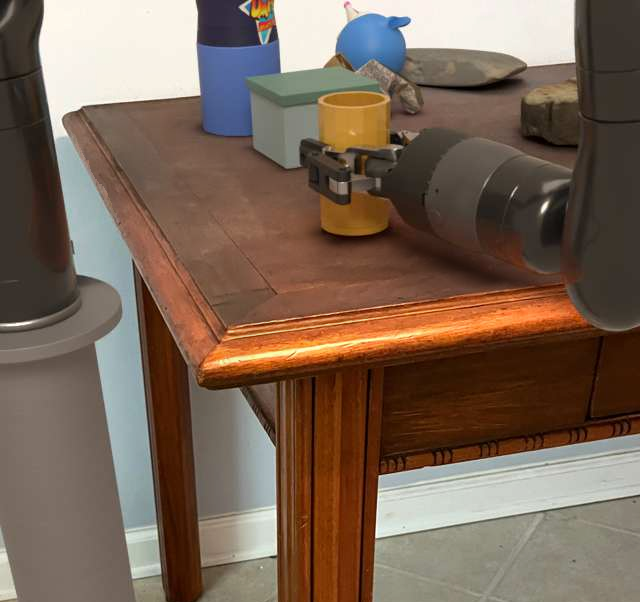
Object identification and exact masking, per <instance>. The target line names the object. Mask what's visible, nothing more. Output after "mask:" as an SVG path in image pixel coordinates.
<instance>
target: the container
mask: <svg viewBox="0 0 640 602" xmlns="http://www.w3.org/2000/svg"><path fill="white" fill-rule="evenodd" d="M246 88H248V89H250V97H251V113H252V130H253V135H252V142H253V143H252V145H253V149H254V150H256V151H257V152H259V153H260V154H262V155H263V156H265V157H267V158H269V160H272V161H273V162H275V163H276V164H277V165H279V166H281V167H283V168H284V169H286V170H289V169H290V170H291V169H296V168H304V167H303V166H301V165H300V158H299V146H300V142H301V140H302V139H307V138H312V139H314V140H317V141H319V131H318V99H319V98H320V97H322V96H324V95H328V94H331V93H338V92H349V91H365V92H375V93H380V83H379V82H377V81H374V80H372V79H369V78H367V77H364V76H362V75H360V74H357V73H355V72H352V71H350V70H348V69H345V68H343V67H340V66H335V67H327V68H323V67H319V68H311V69H302V70H294V71H287V72H281V73H278V74H270V75H262V76H254V77H246Z"/></svg>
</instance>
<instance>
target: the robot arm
mask: <svg viewBox="0 0 640 602" xmlns="http://www.w3.org/2000/svg"><path fill="white" fill-rule="evenodd" d="M44 17H45V0H0V333H14V332H24V331H30V330H35V329H40V328H43V327H47V326H51V325H53V324H56V323H59V322H61V321H63V320H65V319H67V318H69V317H71V316H72V315H73V314H75V313H76V312H77V311H78V310H79V309H80V307H81V305H82V299H81V293H80V290H79V288H78V279H77V275H78V274H77V271H76V265H75V259H74V256H75V255H76V254H75V247H74V241H73V240H72V239H71V234H70V228H69V227H70V226H69V223H68V222H69V221H68V217H67V216H68V215H67V210H66V204H65V198H64V191H63V185H62V180H61V172H60V166H59V161H58V155H57V149H56V142H55V136H54V130H53V124H52V118H51V112H50V105H49V100H48V94H47V88H46V87H47V86H46V81H45V75H44V69H43V62H42V57H41V48H40V47H41V46H40V38H41V33H42V28H43V24H44ZM573 42H574V43H573V44H574V61H575V77H576V80H577V96H578V109H579V122H580V140H579V145H577V151H576V155H575V159H574V163H573V168H570V167H567V166H564V165H562V164H561V165H560V164H557V163H554V162H551V161H548V160H544V159H542V158H541V159H540V158H538V157H535V156H531V155H529V154H527V153H525V152H524V151H521V150H519V148H516V147H514V146H511V145H508V144H506V143H502V142H499V141H496V140H493V139H489V138H485V137H483V136H479V135H476V134H472V133H468V132H466V131H462V130H458V129H455V128H452V127H448V126H433V127H430V128H429V127H425V128H424V129H420V130H419V132H412V131H409V130H407V129H404V130H403V129H402V130H401V131H394V130H391V129H390V144H388V145H386V146H384V147H383V146H375V145H368V144H360V143H357V144H354V145H352V146H350V147H348V148H339V147H333V146H331V145H328V144H326V143H323V142H320V141H317V140H314V139H312V138H307V139H302V140H301V142H300V146H299V158H300V165H301V166H303V167H302V168H305V169H307V170H308V171H307V173H308V175H307V176H308V179H307V187H308V188H309V189H311V190H312V191H314V192H316V193H318V194H319V195H320V194H321V195H323V196H324V197H326V198H328V199H329V200H331V201H333V202H334V203H336V204H339V205H347V204H350V203H351V193H360V194H367V195H372V196H375V197H378V198H379V199H381V200H385V201H389V202H390V203H391V204H392V206H393V207H394V209H395V211H396V212H397V214H398V216H399V217H400V218H401V220H402V221H403V222H404V223H405V224H406V225H408V226H409V227H411V228H413V229H415V230H417V231H418V232H419V231H420V232H422V233H424V234H426V235H428V236H429V235H430V236H432V237H434V238H436V239H439V240H442V241H444V242H446V243H449V244H451V245H453V246H456V247H458V248H461V249H463V250H466V251H468V252H471V253H474V254H479V255H483V256H489V257H492V258H495V259H496V260H500V261H502V262H504V263H506V264H509V265H512V266H514V267H517V268H519V269H522V270H524V271H527V272H530V273H532V274H537V275H541V276H558V275H561V276H562V277H561V278H562V282H563V285H564V288H565V290H566V291H565V292H566V294H567V296H568V298H569V300H570V303H571V304H572V305H573V307H574V308H575V310H576V312H577V313H578V314H579V315H580V316H581V317H582V318H583V319H584V320H585V321H586V322H587V323H589V324H590V325H592V326H594V327H596V328H598V329H600V330H602V331H603V330H604V331H607V332H624V331H628V330H631V329H634V328H637V327H639V326H640V0H573ZM362 155H363V156H368V157H367V158H366V160H365V174H364V175H362ZM338 158H341V159H344V160H345V161H346V164H344V165H343V164H341V163H339V162H338Z"/></svg>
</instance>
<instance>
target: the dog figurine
mask: <svg viewBox="0 0 640 602" xmlns="http://www.w3.org/2000/svg"><path fill="white" fill-rule="evenodd" d="M343 7H344V9H345V13H346V20H347V23H346V24H345V25H344V27H343V28H342V29H341V30H340V31H339V32H338V34H337V37H336V42H335V50H334V53H335V54H334V55H336V54H337V53H338V52H342V53H343V54H344V56H345V58H346V59H347V60H348V61H349V63H350V64H351V65H352V66H353V68H354V69H355V70H356V71H357V70H359V69H360V68H361V67H363V66H364V65H365V64H366V63H368V62H369V61H370V60H372V59H373V60H376V61H377V62H379V63H382V64H384V65H385V66H387V67H389V68H390V69H392V70H394V71H395V72H397V73H400V72H401V70H402V68H403V66H404V63H405V58H406V48H407V43H406V39H405V35H404V34H403V32H402V31H401V28H404V27H407V26H409V25H410V23H411V22H412V18H411V17H409V16H401V17H400V16H395V15H391V16H387V17H386V16H385V15H383V14H380V13H372V12H370V11H367V10H364V11H358V10H357V9H355V8H354V7H353V6H352V3H351V2H350V1H344V4H343Z"/></svg>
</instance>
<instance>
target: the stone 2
mask: <svg viewBox="0 0 640 602" xmlns="http://www.w3.org/2000/svg"><path fill="white" fill-rule="evenodd" d="M519 121H520V127H521V132H522V134H523V136H526V137H532V136H533V137H540V138H543V139H544V140H545V141H547V142H548V143H552V144H553V145H561V146H563V145H570V146H578V145H579V140H580V122H579V109H578V96H577V80H576V76H574V77H570V78H568V79H566V80H564V81H561V82H559V83H555V84H547V85H544V86H539V87H537V88H534V89H531V90H530V91H528V92H527V93H525V94H524V95H523V96H522V98H521V100H520V117H519Z"/></svg>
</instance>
